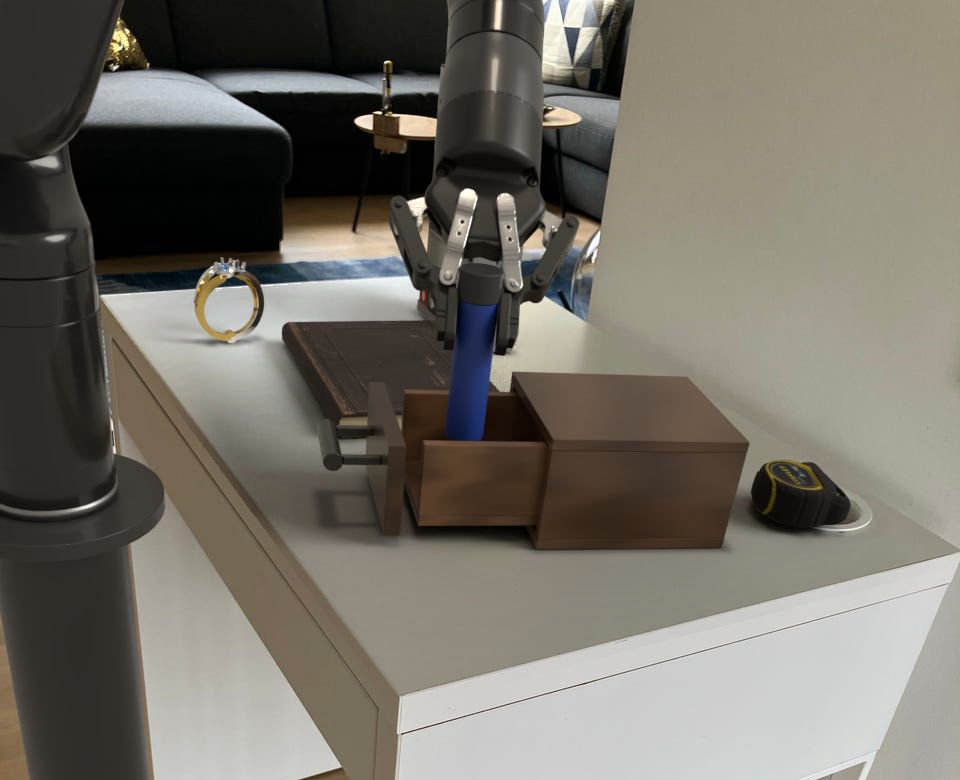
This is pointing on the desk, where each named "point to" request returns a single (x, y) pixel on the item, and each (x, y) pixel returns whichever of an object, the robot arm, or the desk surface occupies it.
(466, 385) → the marker
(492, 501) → the drawer
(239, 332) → the ring
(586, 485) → the cabinet
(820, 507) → the tape measure
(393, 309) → the desk surface
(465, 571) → the desk surface
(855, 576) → the desk surface
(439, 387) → the hardcover book
